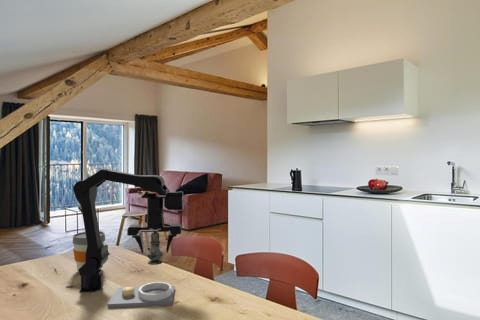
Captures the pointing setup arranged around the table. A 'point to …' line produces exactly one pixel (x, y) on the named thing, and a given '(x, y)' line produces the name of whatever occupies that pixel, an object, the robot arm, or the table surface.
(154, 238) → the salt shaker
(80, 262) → the reusable coffee cup
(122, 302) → the socket board
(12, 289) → the table surface
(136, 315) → the table surface
